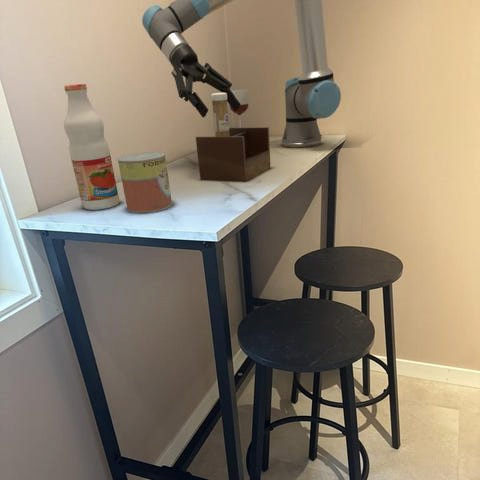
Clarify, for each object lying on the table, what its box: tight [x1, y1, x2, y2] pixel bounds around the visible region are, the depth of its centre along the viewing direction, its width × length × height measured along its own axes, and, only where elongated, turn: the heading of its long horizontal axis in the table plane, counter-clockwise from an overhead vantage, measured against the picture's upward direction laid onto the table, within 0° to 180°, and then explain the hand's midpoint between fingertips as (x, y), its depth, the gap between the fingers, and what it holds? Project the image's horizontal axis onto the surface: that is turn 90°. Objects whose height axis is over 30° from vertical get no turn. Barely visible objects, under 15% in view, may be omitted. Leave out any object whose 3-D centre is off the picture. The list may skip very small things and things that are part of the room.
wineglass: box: [228, 88, 250, 128], centre depth 185 cm, size 8×9×20 cm
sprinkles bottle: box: [210, 92, 230, 137], centre depth 135 cm, size 5×5×13 cm
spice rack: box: [195, 126, 271, 183], centre depth 138 cm, size 18×15×12 cm
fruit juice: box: [63, 83, 120, 211], centre depth 113 cm, size 9×9×28 cm
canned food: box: [117, 151, 173, 214], centre depth 112 cm, size 11×11×12 cm
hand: (222, 110), depth 134 cm, fingers open, 13 cm apart
